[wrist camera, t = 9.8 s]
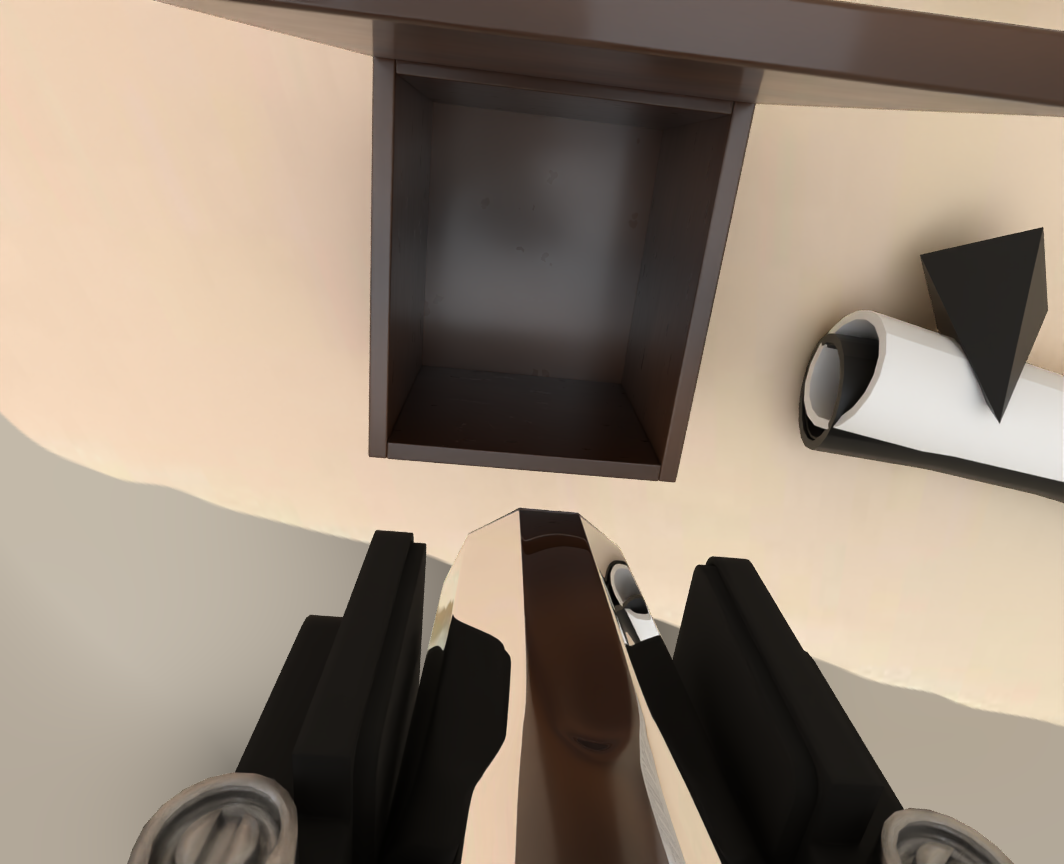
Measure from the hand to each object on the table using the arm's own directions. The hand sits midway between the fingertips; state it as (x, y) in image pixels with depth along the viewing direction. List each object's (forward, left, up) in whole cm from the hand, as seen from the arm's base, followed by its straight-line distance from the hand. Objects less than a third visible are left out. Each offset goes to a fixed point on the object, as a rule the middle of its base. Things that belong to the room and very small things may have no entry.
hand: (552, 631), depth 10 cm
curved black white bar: (+3, +34, -30) cm, 46 cm away
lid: (-9, +1, -9) cm, 13 cm away
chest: (-2, 0, -30) cm, 30 cm away
